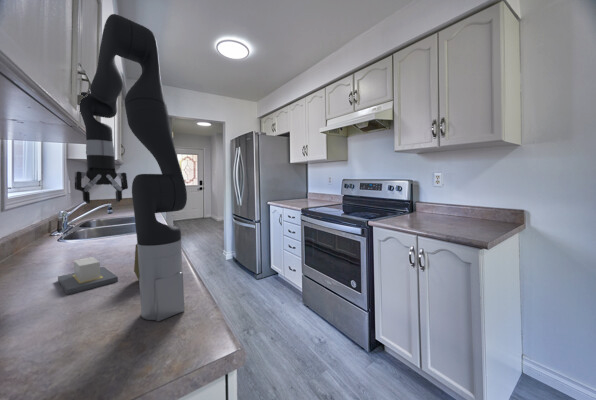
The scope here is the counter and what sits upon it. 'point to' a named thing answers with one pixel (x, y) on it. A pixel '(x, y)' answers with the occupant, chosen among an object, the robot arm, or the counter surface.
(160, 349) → the counter surface
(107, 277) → the board
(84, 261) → the block
